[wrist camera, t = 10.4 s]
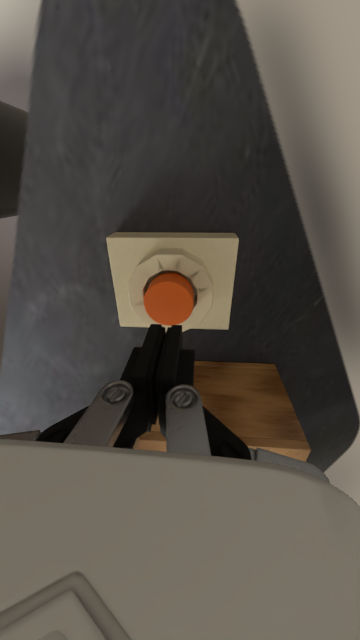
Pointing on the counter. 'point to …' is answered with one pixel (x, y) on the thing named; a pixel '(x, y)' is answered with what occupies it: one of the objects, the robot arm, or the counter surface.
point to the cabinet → (245, 408)
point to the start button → (169, 299)
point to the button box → (180, 258)
